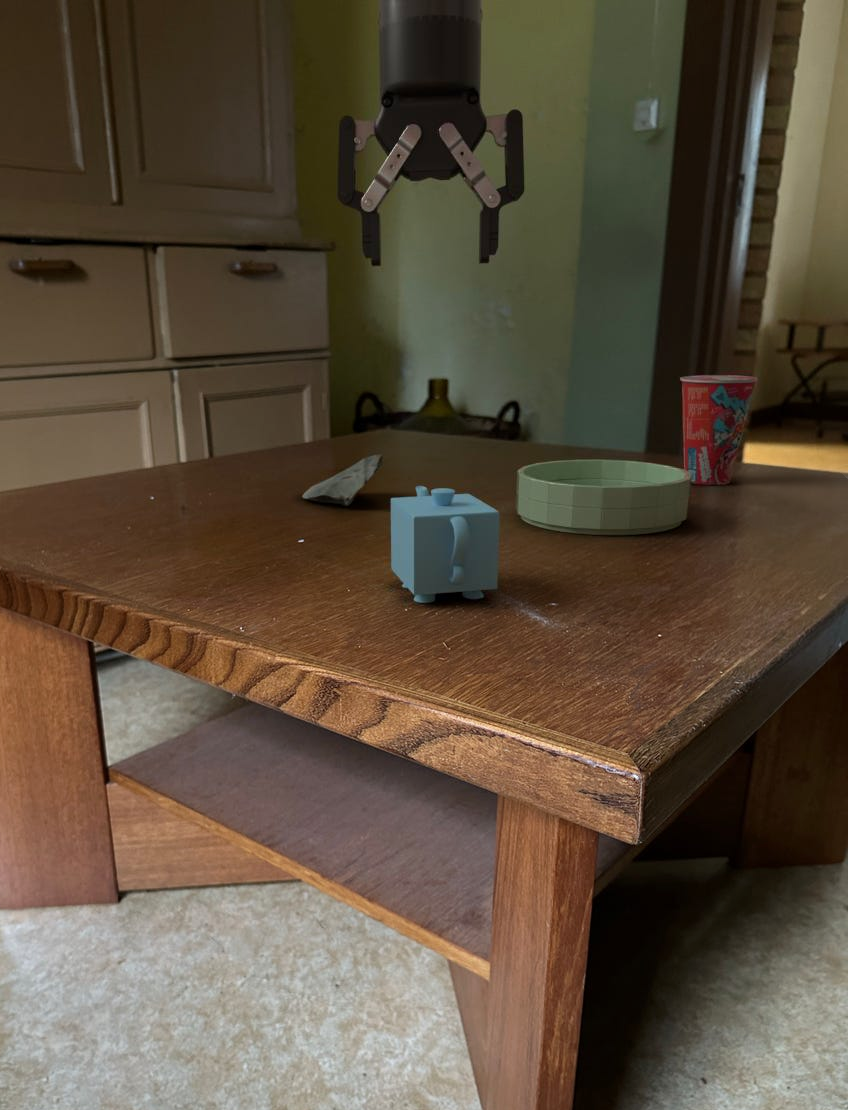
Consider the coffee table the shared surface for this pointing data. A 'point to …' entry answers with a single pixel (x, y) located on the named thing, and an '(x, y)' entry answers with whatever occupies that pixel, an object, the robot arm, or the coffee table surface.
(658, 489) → the serving bowl
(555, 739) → the coffee table surface
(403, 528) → the teapot
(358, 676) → the coffee table surface
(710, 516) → the coffee table surface
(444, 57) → the robot arm
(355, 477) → the stone
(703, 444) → the cup
